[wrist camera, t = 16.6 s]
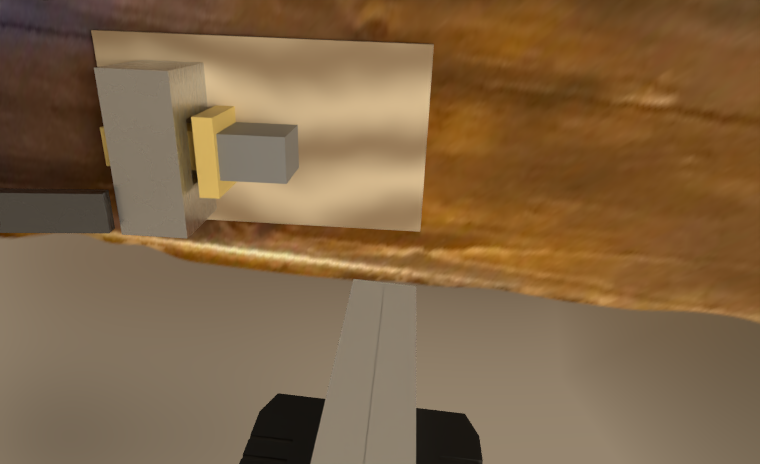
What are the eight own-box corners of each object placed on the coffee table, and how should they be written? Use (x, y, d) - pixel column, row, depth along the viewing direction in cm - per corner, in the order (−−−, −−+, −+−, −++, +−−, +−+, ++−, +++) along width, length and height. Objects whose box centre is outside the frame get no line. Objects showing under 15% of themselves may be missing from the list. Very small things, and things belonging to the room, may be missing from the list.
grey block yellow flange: (117, 101, 42) (80, 112, 37) (297, 108, 41) (282, 120, 36) (128, 173, 44) (95, 192, 39) (299, 182, 43) (285, 202, 39)
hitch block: (139, 59, 40) (93, 67, 34) (203, 62, 40) (167, 71, 34) (159, 205, 45) (122, 234, 39) (216, 209, 45) (187, 238, 39)
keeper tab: (-24, 188, 37) (-33, 192, 36) (108, 189, 38) (102, 194, 37) (-13, 227, 38) (-22, 232, 37) (114, 227, 39) (109, 233, 38)
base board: (98, 29, 41) (91, 30, 40) (433, 43, 40) (433, 44, 39) (127, 210, 46) (121, 214, 45) (420, 227, 45) (420, 231, 44)
